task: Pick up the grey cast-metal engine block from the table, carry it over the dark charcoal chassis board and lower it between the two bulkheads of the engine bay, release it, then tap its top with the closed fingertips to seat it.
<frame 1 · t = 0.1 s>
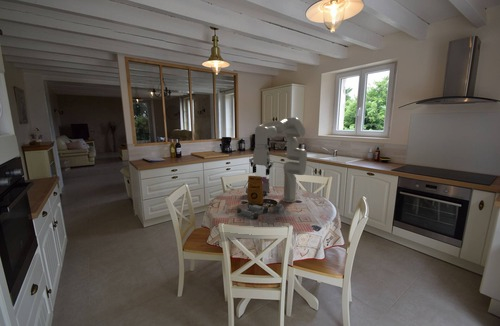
hand: (260, 173, 140), 31 cm above the table, fingers open, 9 cm apart
engine block: (278, 212, 158), on the table
coffee package: (255, 203, 175), on the table
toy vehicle: (257, 194, 194), on the table
chassis: (252, 212, 156), on the table
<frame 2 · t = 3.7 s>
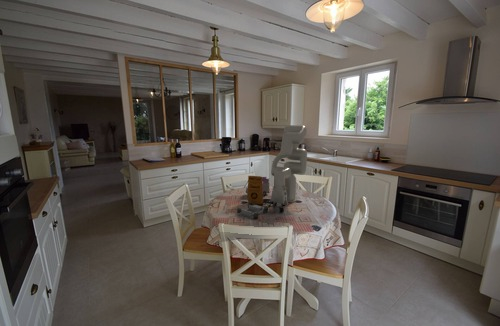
hand: (278, 211, 158), 0 cm above the table, fingers closed on engine block, 4 cm apart
engine block: (278, 211, 158), on the table, touching gripper
everything else where it was.
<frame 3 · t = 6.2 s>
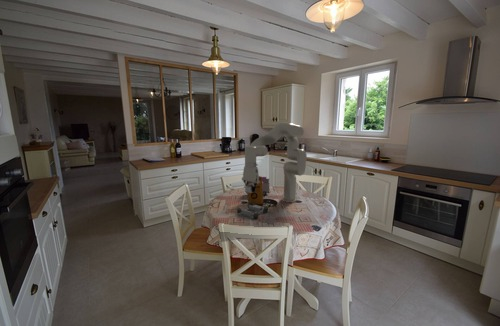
hand: (250, 190, 151), 17 cm above the table, fingers closed on engine block, 4 cm apart
engine block: (250, 191, 151), point 17 cm above the table, touching gripper
everything else where it was.
when the fingers open (3 cm above the table, at t = 9.1 s): engine block drops 1 cm, resting on chassis.
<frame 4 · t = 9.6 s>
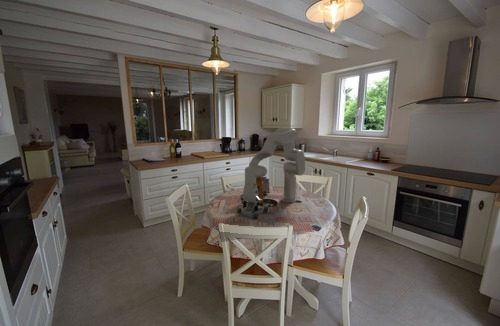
hand: (250, 209, 153), 4 cm above the table, fingers open, 9 cm apart
engine block: (250, 212, 154), point 1 cm above the table, touching chassis
everything else where it was.
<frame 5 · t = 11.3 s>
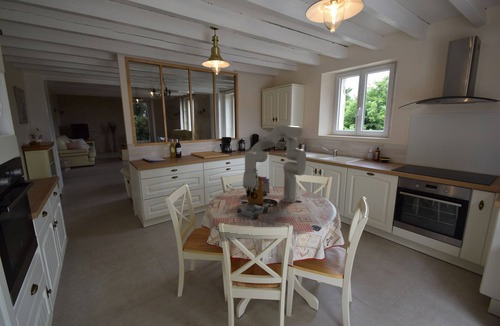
hand: (250, 196, 151), 13 cm above the table, fingers closed
nothing on the table moved.
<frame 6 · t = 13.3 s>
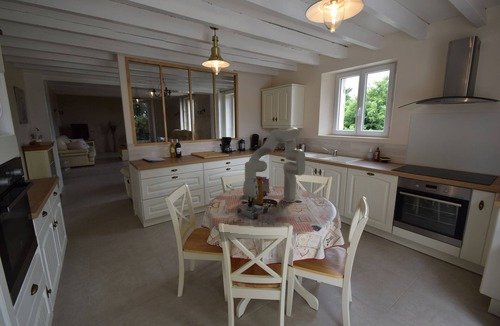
hand: (250, 205, 153), 6 cm above the table, fingers closed
nothing on the table moved.
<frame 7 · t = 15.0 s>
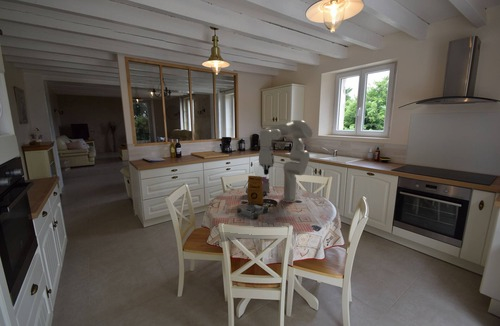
hand: (266, 174, 155), 27 cm above the table, fingers closed
nothing on the table moved.
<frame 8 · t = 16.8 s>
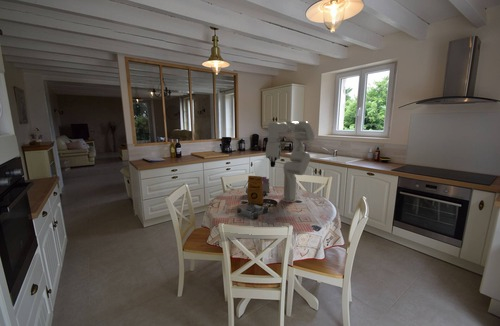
hand: (272, 166, 156), 32 cm above the table, fingers closed
nothing on the table moved.
at the end: engine block 0.0 cm from the target spot on the chassis, point 1.2 cm above the chassis's base; engine block tilted 0°; the gripper is holding nothing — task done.
